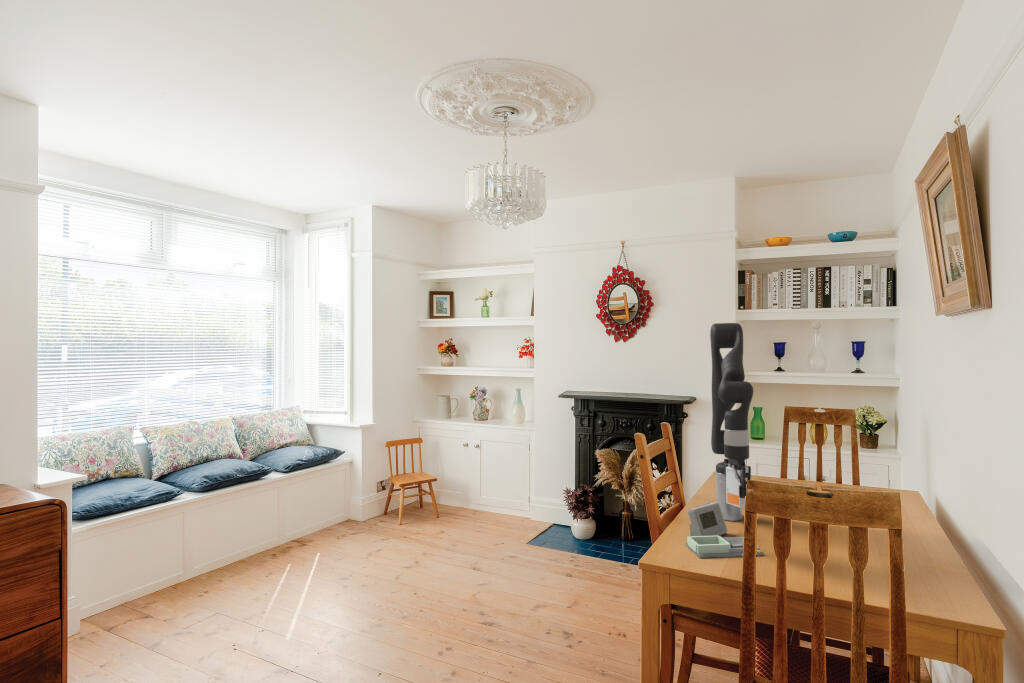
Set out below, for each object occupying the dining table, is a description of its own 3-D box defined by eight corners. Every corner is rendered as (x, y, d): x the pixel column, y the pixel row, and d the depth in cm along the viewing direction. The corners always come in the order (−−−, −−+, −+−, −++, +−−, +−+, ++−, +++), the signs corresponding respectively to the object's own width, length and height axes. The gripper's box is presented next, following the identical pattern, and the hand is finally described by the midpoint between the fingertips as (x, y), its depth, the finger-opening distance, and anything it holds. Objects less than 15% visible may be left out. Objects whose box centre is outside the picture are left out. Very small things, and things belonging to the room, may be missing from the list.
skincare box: (725, 503, 188) (725, 466, 188) (735, 502, 189) (735, 465, 190) (740, 508, 182) (739, 470, 182) (750, 506, 184) (749, 468, 184)
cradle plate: (723, 539, 189) (723, 537, 189) (743, 539, 189) (742, 536, 189) (732, 546, 182) (732, 544, 182) (752, 545, 183) (752, 543, 183)
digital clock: (698, 544, 192) (697, 512, 192) (679, 536, 200) (679, 505, 200) (735, 537, 198) (734, 505, 198) (715, 529, 206) (715, 499, 207)
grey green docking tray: (684, 545, 191) (684, 535, 191) (745, 542, 192) (745, 532, 192) (699, 558, 179) (699, 547, 179) (763, 555, 180) (763, 545, 180)
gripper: (758, 446, 179) (759, 500, 179) (737, 439, 194) (738, 489, 193) (735, 447, 179) (736, 501, 179) (715, 440, 193) (716, 489, 193)
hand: (737, 494), depth 186 cm, fingers closed on skincare box, 7 cm apart
